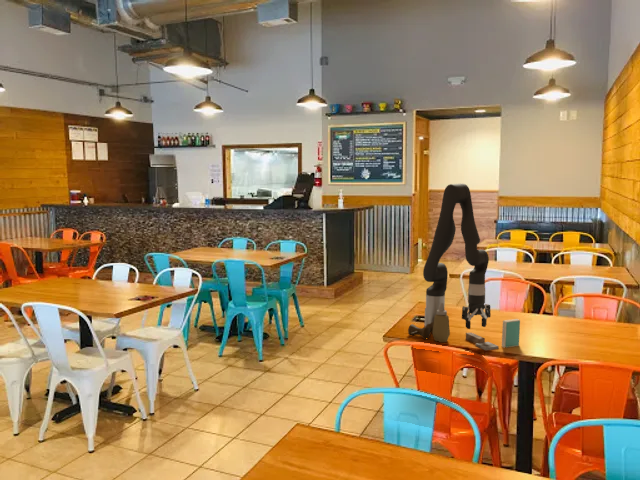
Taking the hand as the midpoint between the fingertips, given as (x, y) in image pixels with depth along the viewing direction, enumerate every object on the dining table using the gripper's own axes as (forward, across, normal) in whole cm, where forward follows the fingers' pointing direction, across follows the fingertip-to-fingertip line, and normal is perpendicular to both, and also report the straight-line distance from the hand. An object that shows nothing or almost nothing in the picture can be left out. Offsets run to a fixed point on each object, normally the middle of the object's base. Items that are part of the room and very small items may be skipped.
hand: (475, 327), depth 249 cm
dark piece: (+7, 0, +3) cm, 8 cm away
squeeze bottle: (+7, +14, -8) cm, 17 cm away
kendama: (+7, +17, -18) cm, 26 cm away
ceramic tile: (+7, -11, +10) cm, 17 cm away
